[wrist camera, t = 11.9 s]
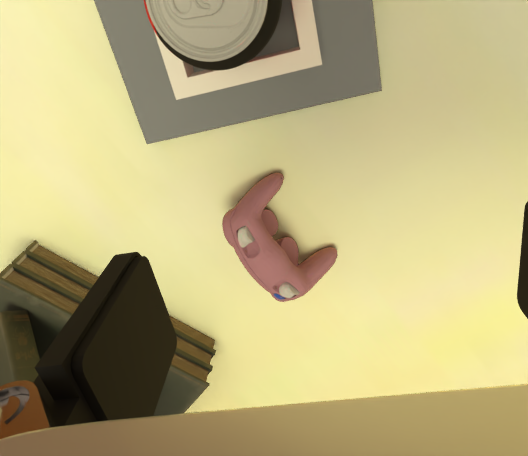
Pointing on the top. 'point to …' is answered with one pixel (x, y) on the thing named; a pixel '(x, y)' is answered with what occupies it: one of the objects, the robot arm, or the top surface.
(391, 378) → the top surface
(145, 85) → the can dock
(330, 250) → the video game controller
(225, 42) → the beverage can
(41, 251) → the dark grey slab stack
